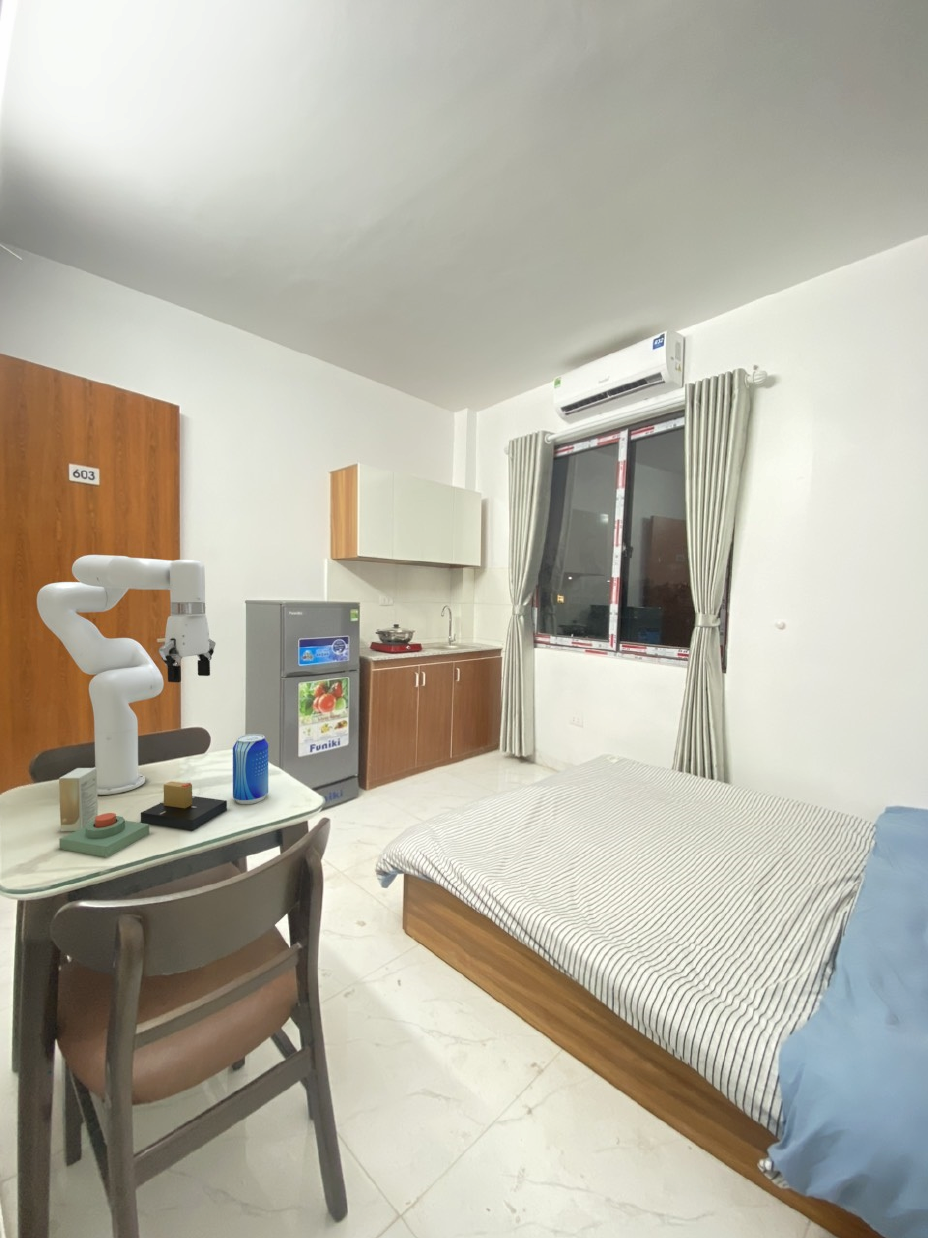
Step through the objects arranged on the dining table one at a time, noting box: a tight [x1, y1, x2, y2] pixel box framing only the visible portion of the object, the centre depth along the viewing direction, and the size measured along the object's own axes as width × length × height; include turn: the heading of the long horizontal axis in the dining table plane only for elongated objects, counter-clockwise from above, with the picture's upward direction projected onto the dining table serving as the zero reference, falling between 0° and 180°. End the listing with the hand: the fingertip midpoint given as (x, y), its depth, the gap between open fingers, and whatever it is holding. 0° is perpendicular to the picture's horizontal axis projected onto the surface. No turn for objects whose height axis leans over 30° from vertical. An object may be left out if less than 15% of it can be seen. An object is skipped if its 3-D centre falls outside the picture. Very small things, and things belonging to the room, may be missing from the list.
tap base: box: [140, 795, 228, 832], centre depth 117 cm, size 14×11×3 cm
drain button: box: [95, 812, 117, 828], centre depth 104 cm, size 4×4×2 cm
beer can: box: [232, 733, 269, 805], centre depth 127 cm, size 8×8×16 cm
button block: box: [58, 815, 150, 858], centre depth 104 cm, size 12×10×4 cm
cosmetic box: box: [58, 767, 99, 832], centre depth 111 cm, size 6×4×12 cm
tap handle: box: [163, 781, 193, 808], centre depth 117 cm, size 6×2×5 cm, turn 77°
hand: (189, 678), depth 123 cm, fingers open, 9 cm apart
